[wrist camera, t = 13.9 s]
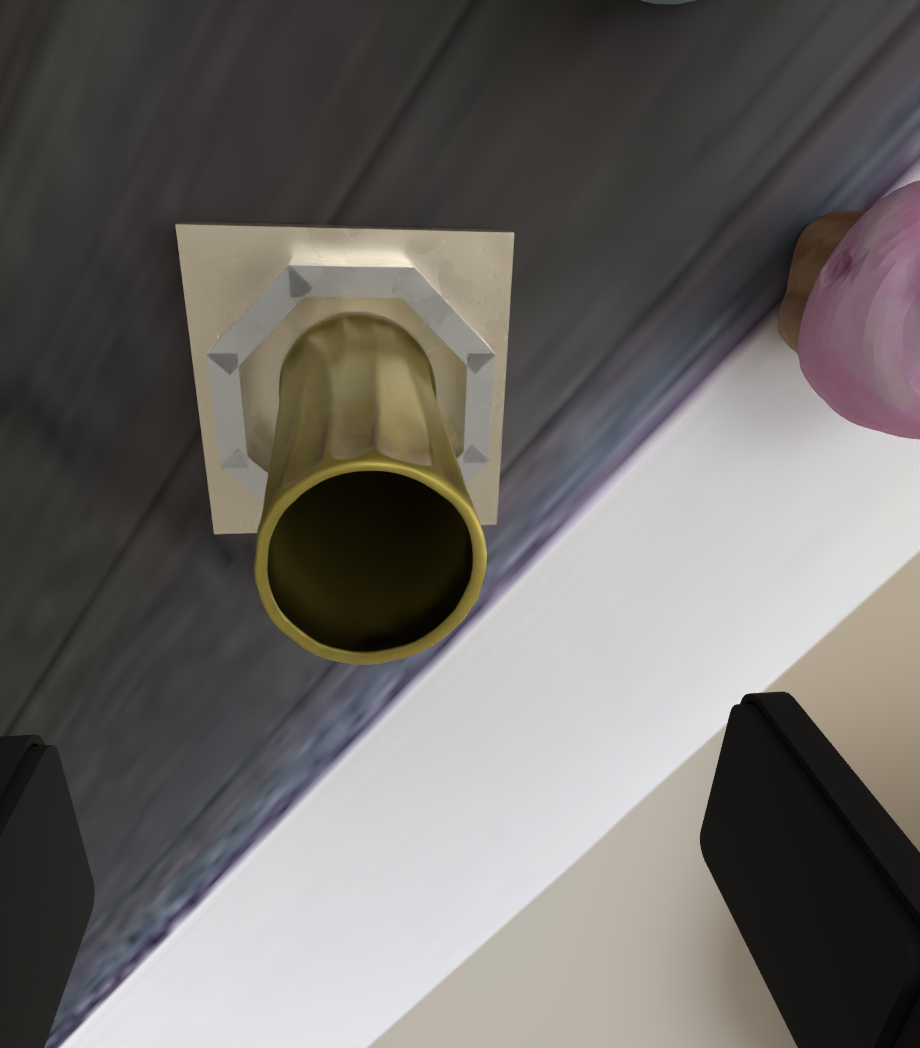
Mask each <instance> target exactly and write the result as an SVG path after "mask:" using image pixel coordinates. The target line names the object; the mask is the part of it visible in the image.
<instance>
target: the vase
mask: <svg viewBox="0 0 920 1048" xmlns="http://www.w3.org/2000/svg"><path fill="white" fill-rule="evenodd" d="M486 567H487V550H486V542H485V537H484V534H483V531H482V528H481V525H480V521H479V518H478V516H477V513H476V510H475V508H474V505H473V502H472V500H471V498H470V496H469V494H468V491H467V489H466V486H465V482H464V479H463V475H462V472H461V469H460V466H459V463H458V461H457V458H456V455H455V453H454V450H453V447H452V444H451V441H450V439H449V436H448V433H447V431H446V428H445V425H444V421H443V417H442V415H441V412H440V410H439V407H438V404H437V401H436V384H435V377H434V373H433V369H432V366H431V363H430V361H429V359H428V356H427V355H426V353H425V352H424V350H423V349H422V347H421V346H420V345H419V344H418V342H417V341H416V340H415V339H414V338H413V337H412V336H411V335H409V334H408V333H407V332H406V331H405V330H403V329H402V328H400V327H399V326H397V325H395V324H394V323H391V322H389V321H387V320H385V319H382V318H378V317H374V316H369V315H361V314H350V315H342V316H338V317H334V318H331V319H328V320H326V321H323V322H321V323H319V324H317V325H315V326H314V327H312V328H311V329H309V330H308V331H306V332H305V333H304V334H303V335H302V336H301V337H300V338H299V339H298V340H297V341H296V342H295V344H294V345H293V346H292V348H291V349H290V351H289V353H288V354H287V356H286V358H285V360H284V362H283V364H282V367H281V371H280V378H279V409H278V415H277V421H276V428H275V435H274V441H273V447H272V453H271V460H270V466H269V472H268V479H267V484H266V489H265V497H264V505H263V511H262V516H261V520H260V524H259V526H258V530H257V548H256V554H255V560H254V566H253V570H254V577H255V584H256V586H257V589H258V592H259V595H260V598H261V601H262V603H263V606H264V608H265V610H266V612H267V614H268V616H269V618H270V619H271V620H272V622H273V623H274V624H275V625H276V626H277V627H278V628H279V629H280V630H281V631H282V632H283V633H285V634H286V635H287V636H288V637H290V638H291V639H292V640H293V641H295V642H296V643H297V644H299V645H300V646H301V647H303V648H304V649H306V650H308V651H309V652H311V653H313V654H315V655H317V656H320V657H323V658H325V659H329V660H333V661H337V662H343V663H349V664H364V665H368V664H379V663H384V662H389V661H394V660H398V659H403V658H406V657H409V656H412V655H414V654H417V653H419V652H421V651H424V650H426V649H428V648H430V647H431V646H433V645H434V644H436V643H437V642H439V641H440V640H441V639H443V638H444V637H445V636H446V635H448V634H449V633H450V632H451V631H452V630H453V629H454V628H456V627H457V626H458V625H459V624H460V623H461V622H462V621H463V620H464V618H465V617H466V615H467V614H468V612H469V611H470V609H471V608H472V606H473V605H474V603H475V602H476V600H477V599H478V596H479V593H480V590H481V586H482V583H483V579H484V575H485V571H486Z"/></svg>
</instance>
